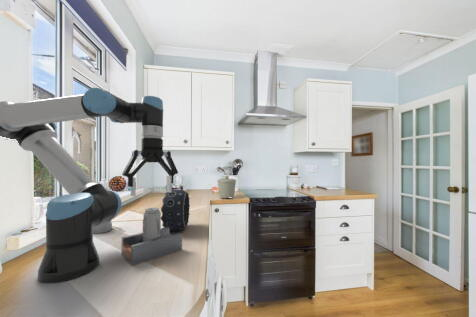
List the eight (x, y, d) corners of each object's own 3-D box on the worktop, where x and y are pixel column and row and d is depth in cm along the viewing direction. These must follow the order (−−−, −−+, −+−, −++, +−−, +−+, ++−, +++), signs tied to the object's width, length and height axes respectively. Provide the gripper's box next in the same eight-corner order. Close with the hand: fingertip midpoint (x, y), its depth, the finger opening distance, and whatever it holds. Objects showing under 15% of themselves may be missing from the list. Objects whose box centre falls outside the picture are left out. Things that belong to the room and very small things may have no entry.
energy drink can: (157, 252, 77) (157, 210, 78) (140, 252, 77) (140, 210, 78) (162, 245, 84) (162, 207, 84) (147, 245, 83) (147, 207, 84)
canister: (215, 197, 205) (215, 175, 205) (233, 196, 210) (233, 174, 211) (219, 200, 188) (219, 176, 188) (238, 199, 193) (238, 176, 193)
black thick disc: (190, 223, 118) (190, 187, 118) (183, 236, 98) (183, 192, 98) (170, 223, 117) (170, 187, 117) (159, 236, 97) (159, 192, 97)
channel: (132, 265, 70) (132, 246, 70) (121, 254, 79) (121, 237, 79) (181, 249, 82) (181, 233, 83) (167, 241, 91) (167, 226, 91)
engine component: (85, 234, 100) (109, 231, 104) (85, 191, 101) (110, 189, 104) (91, 227, 111) (113, 225, 114) (92, 188, 111) (114, 187, 115)
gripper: (119, 134, 70) (118, 198, 70) (186, 139, 87) (186, 191, 87) (112, 136, 75) (112, 196, 75) (177, 140, 93) (177, 189, 92)
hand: (152, 193), depth 81 cm, fingers open, 13 cm apart
